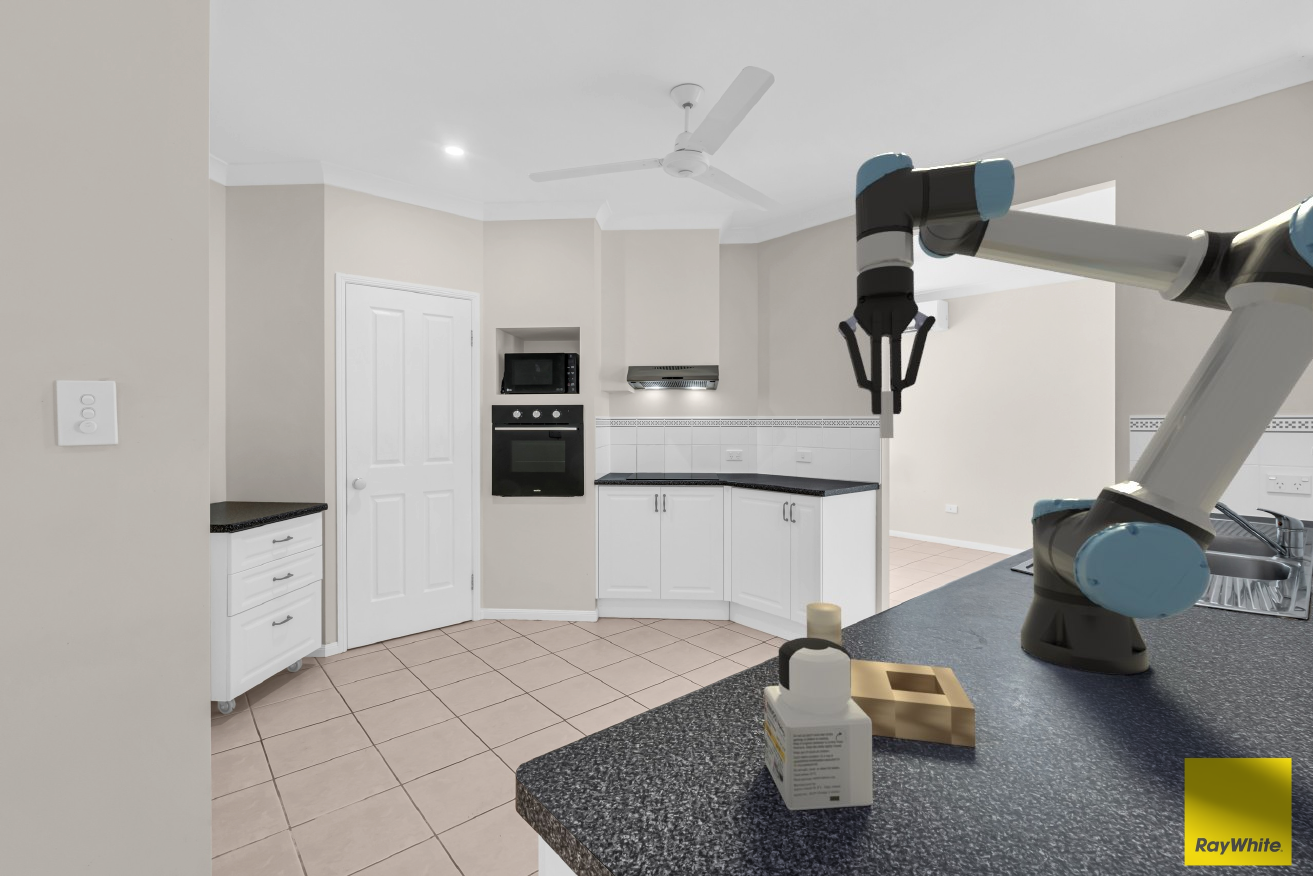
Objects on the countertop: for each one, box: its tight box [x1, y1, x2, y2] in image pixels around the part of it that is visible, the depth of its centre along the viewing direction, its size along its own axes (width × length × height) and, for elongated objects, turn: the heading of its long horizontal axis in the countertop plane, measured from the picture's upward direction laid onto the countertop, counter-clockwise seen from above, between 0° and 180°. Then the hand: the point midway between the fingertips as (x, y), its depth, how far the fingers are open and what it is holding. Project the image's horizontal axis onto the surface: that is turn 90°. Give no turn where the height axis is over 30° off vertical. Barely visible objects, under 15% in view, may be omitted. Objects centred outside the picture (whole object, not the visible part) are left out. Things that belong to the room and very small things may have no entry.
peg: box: [806, 602, 843, 647], centre depth 69 cm, size 4×4×12 cm
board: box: [851, 658, 976, 748], centre depth 68 cm, size 20×11×4 cm, turn 75°
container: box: [763, 637, 873, 811], centre depth 54 cm, size 8×8×13 cm
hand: (886, 437), depth 81 cm, fingers closed
